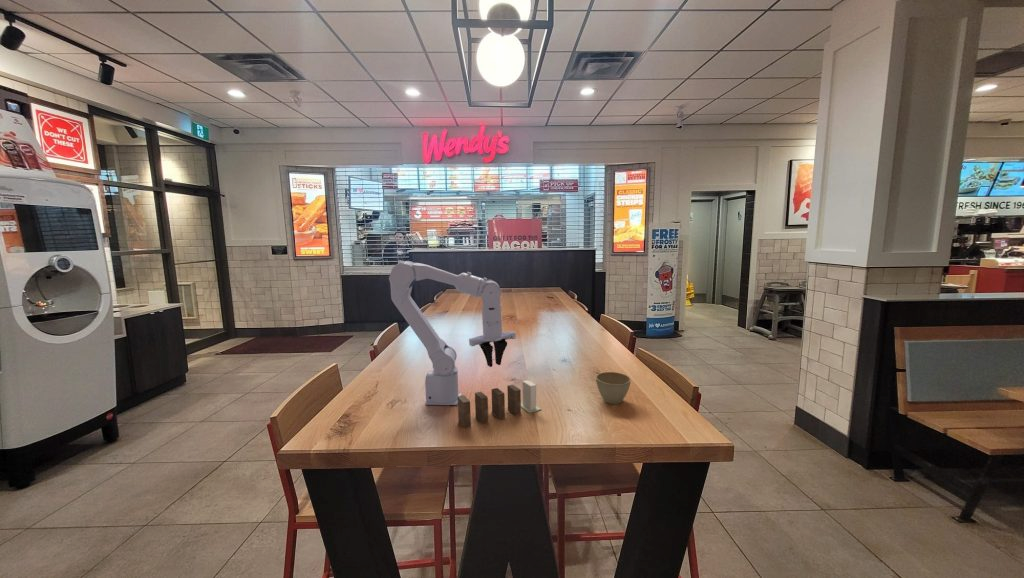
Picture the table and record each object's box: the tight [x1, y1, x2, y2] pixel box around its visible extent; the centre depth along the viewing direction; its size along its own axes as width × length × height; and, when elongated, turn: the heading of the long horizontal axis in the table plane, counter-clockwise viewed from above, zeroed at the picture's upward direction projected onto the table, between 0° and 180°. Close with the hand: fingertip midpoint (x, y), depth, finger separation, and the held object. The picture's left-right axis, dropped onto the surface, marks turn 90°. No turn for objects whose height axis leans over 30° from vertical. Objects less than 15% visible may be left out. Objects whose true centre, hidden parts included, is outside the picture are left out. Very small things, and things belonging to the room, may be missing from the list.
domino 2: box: [474, 391, 489, 425], centre depth 104 cm, size 2×4×7 cm, turn 28°
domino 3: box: [491, 387, 506, 420], centre depth 107 cm, size 2×4×7 cm, turn 28°
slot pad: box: [521, 402, 542, 414], centre depth 112 cm, size 4×6×1 cm, turn 28°
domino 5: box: [522, 379, 537, 410], centre depth 111 cm, size 2×4×7 cm, turn 29°
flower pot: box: [595, 371, 632, 405], centre depth 115 cm, size 10×10×7 cm
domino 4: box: [506, 384, 522, 416], centre depth 109 cm, size 2×4×7 cm, turn 29°
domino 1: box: [457, 394, 472, 429], centre depth 102 cm, size 2×4×7 cm, turn 28°
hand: (494, 365), depth 117 cm, fingers open, 2 cm apart
